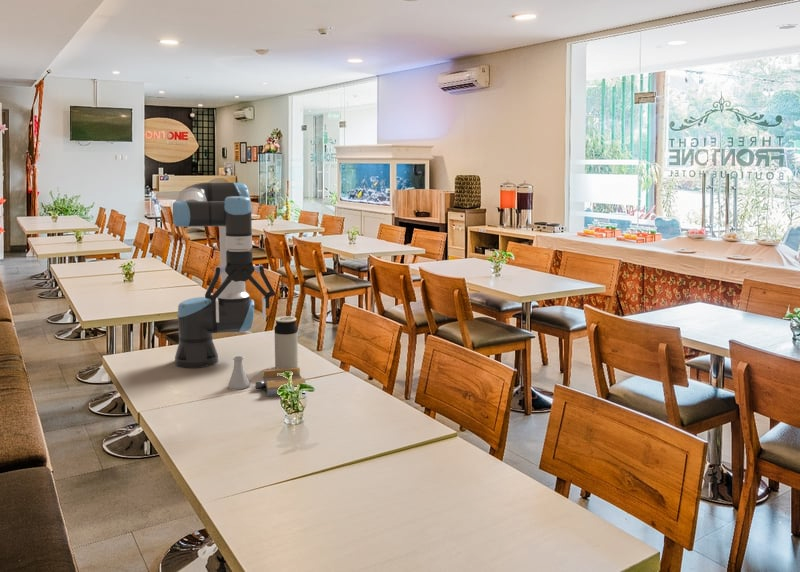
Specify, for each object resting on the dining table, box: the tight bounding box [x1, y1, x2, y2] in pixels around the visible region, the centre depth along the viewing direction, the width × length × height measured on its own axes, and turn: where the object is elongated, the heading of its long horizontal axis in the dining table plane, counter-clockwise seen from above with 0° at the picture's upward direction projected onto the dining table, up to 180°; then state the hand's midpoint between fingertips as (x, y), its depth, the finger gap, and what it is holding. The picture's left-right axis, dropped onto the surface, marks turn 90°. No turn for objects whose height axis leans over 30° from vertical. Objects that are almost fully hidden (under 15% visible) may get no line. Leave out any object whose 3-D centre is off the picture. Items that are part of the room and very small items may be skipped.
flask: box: [227, 355, 251, 390], centre depth 225 cm, size 7×7×10 cm
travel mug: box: [274, 315, 299, 369], centre depth 245 cm, size 8×8×18 cm
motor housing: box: [255, 367, 306, 398], centre depth 224 cm, size 14×15×4 cm
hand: (241, 320), depth 206 cm, fingers open, 13 cm apart
